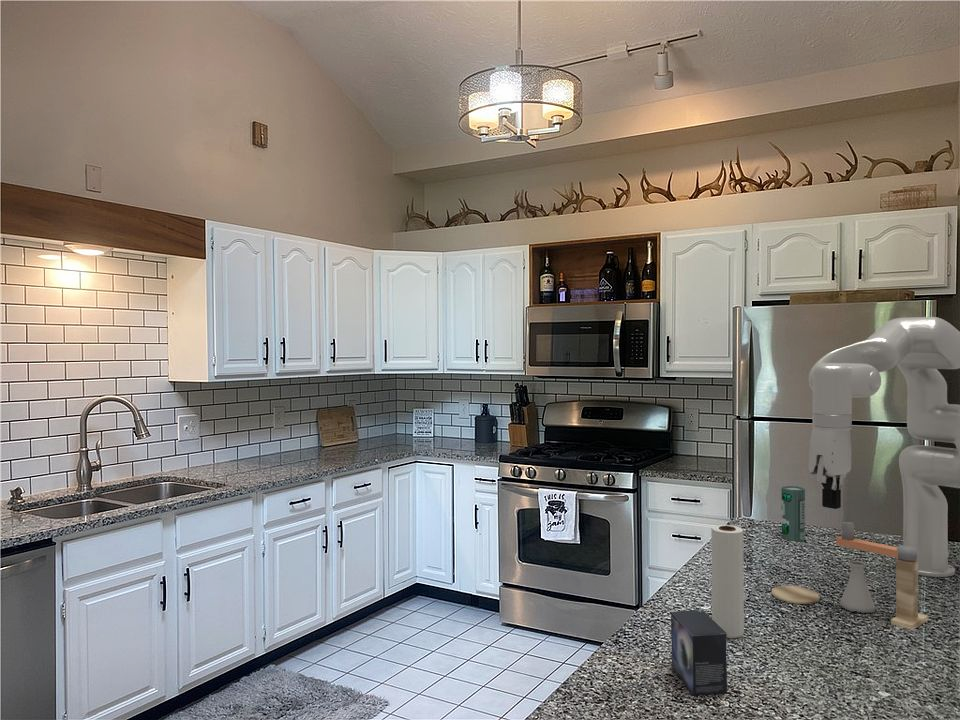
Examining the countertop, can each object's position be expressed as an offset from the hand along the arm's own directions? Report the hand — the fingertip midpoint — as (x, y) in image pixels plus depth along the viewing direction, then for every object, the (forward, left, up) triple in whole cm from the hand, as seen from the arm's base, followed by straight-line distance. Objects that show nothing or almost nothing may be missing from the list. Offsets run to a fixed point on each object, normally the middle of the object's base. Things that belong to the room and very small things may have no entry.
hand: (831, 507), depth 150 cm
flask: (-7, +2, -23) cm, 24 cm away
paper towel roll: (+26, -8, -23) cm, 35 cm away
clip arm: (-7, +6, -10) cm, 14 cm away
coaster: (-3, -10, -23) cm, 25 cm away
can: (-48, -35, -23) cm, 64 cm away
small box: (+48, 0, -23) cm, 53 cm away
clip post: (-7, +12, -23) cm, 27 cm away
